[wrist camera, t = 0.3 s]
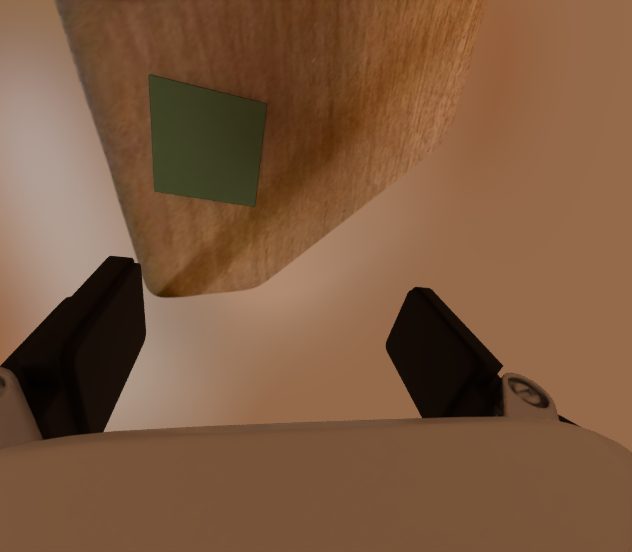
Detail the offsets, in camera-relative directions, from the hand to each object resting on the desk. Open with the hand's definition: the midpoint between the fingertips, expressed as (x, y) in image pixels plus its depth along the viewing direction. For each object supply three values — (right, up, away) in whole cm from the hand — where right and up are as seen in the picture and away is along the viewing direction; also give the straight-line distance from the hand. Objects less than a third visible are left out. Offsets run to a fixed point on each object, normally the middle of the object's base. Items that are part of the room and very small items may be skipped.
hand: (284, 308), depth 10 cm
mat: (-12, +16, +24) cm, 31 cm away
